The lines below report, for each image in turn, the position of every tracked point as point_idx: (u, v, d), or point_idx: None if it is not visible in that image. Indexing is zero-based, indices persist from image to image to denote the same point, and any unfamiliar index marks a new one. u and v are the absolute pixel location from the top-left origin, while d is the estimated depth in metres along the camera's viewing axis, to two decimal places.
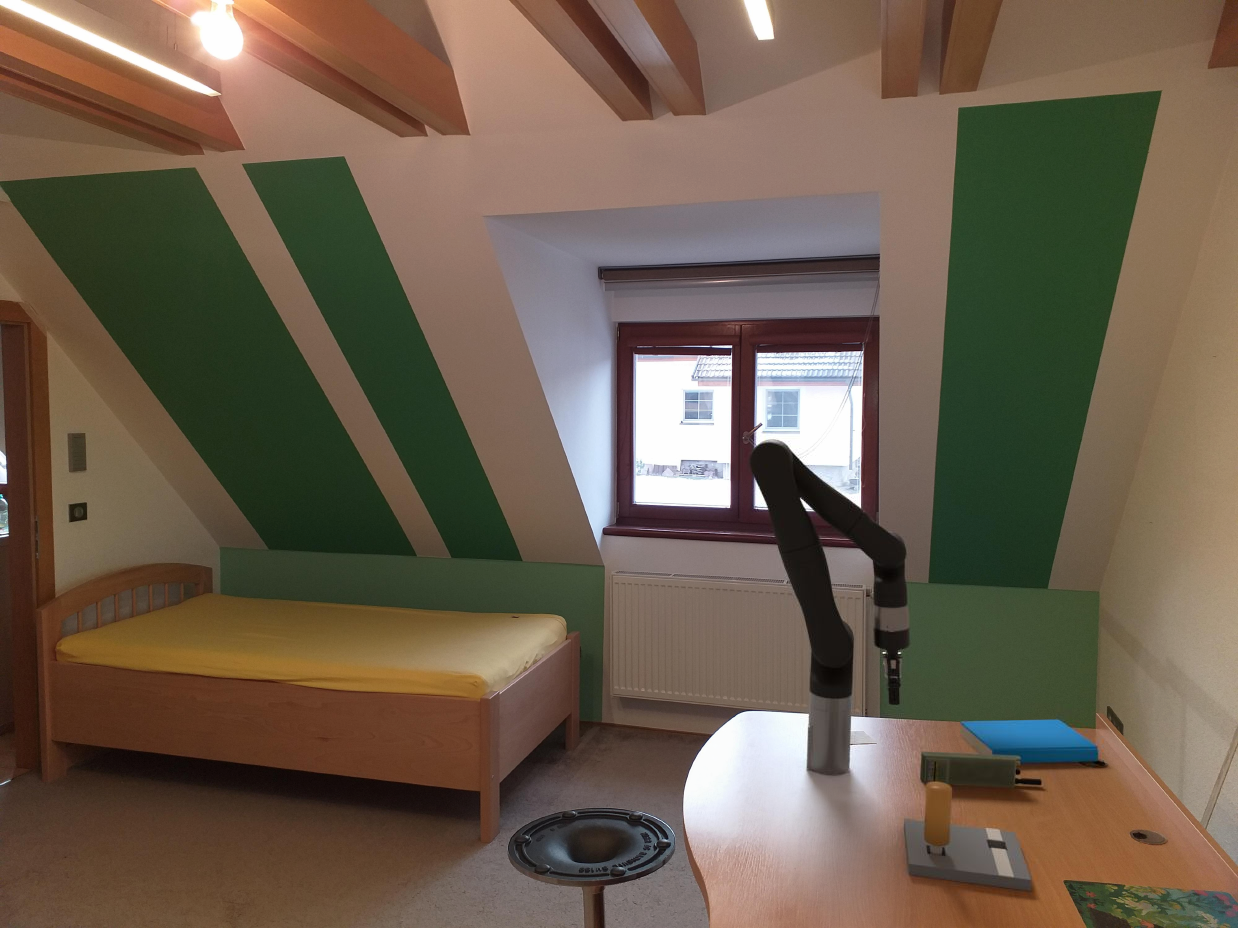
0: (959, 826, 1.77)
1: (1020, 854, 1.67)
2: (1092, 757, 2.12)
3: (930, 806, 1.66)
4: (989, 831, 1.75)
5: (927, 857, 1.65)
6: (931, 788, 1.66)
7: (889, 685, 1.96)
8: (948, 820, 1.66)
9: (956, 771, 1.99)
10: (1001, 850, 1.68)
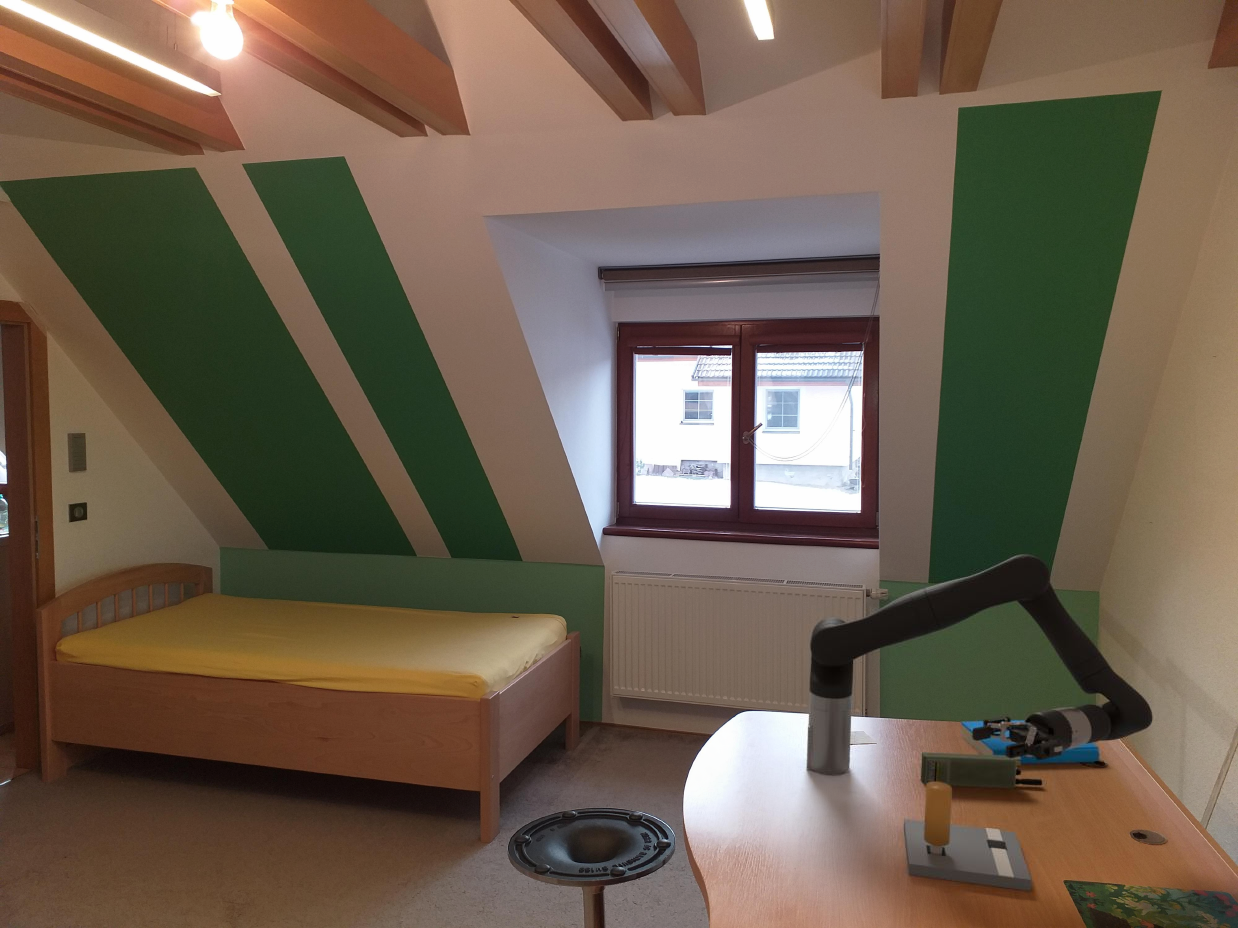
0: (959, 826, 1.77)
1: (1020, 854, 1.67)
2: (1093, 758, 2.11)
3: (930, 806, 1.66)
4: (989, 831, 1.75)
5: (927, 857, 1.65)
6: (931, 788, 1.66)
7: (1041, 748, 1.65)
8: (948, 820, 1.66)
9: (957, 772, 1.99)
10: (1001, 850, 1.68)
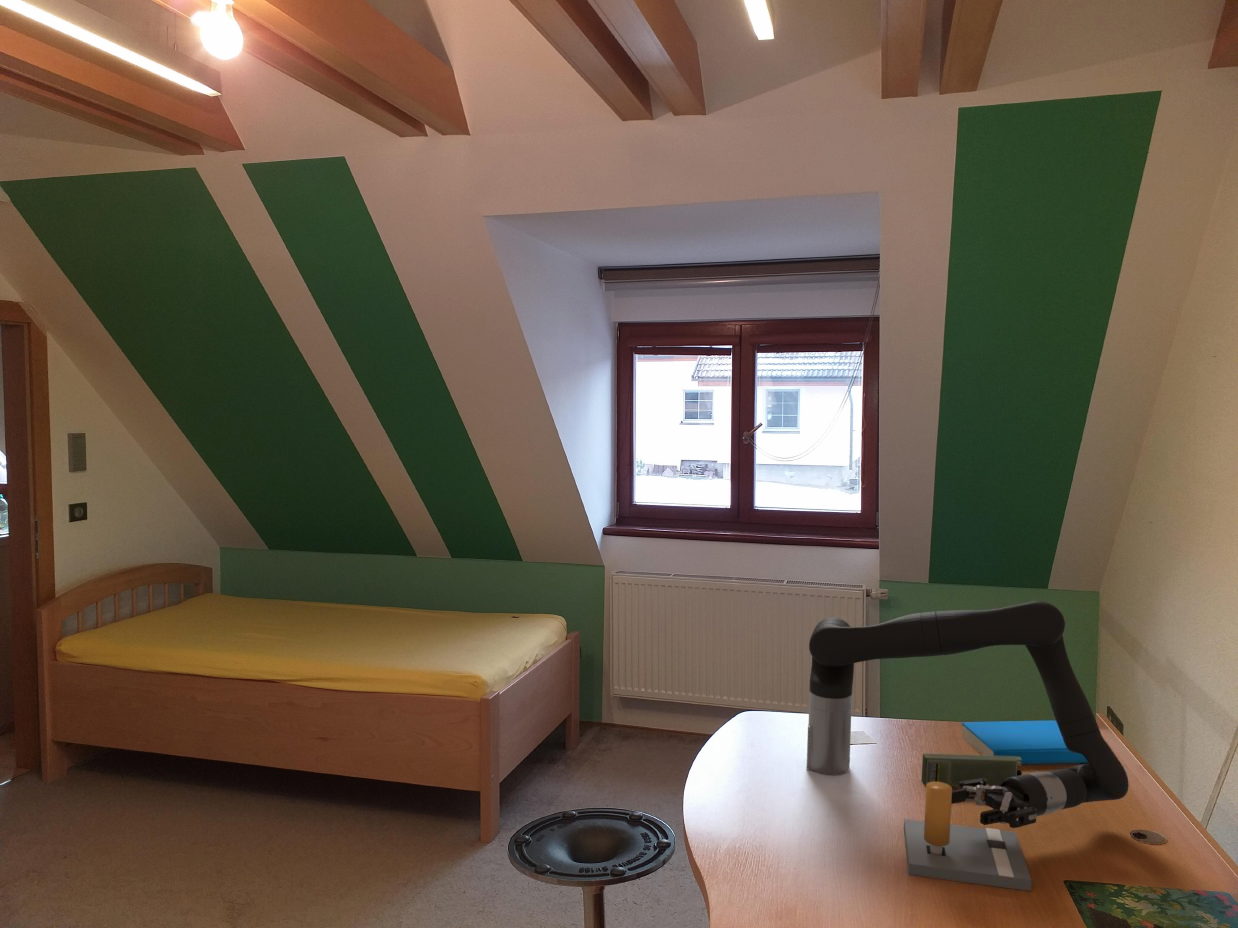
0: (959, 826, 1.77)
1: (1020, 854, 1.67)
2: None
3: (930, 806, 1.66)
4: (989, 831, 1.75)
5: (927, 857, 1.65)
6: (931, 788, 1.66)
7: (1015, 816, 1.65)
8: (948, 820, 1.66)
9: (957, 773, 1.98)
10: (1001, 850, 1.68)
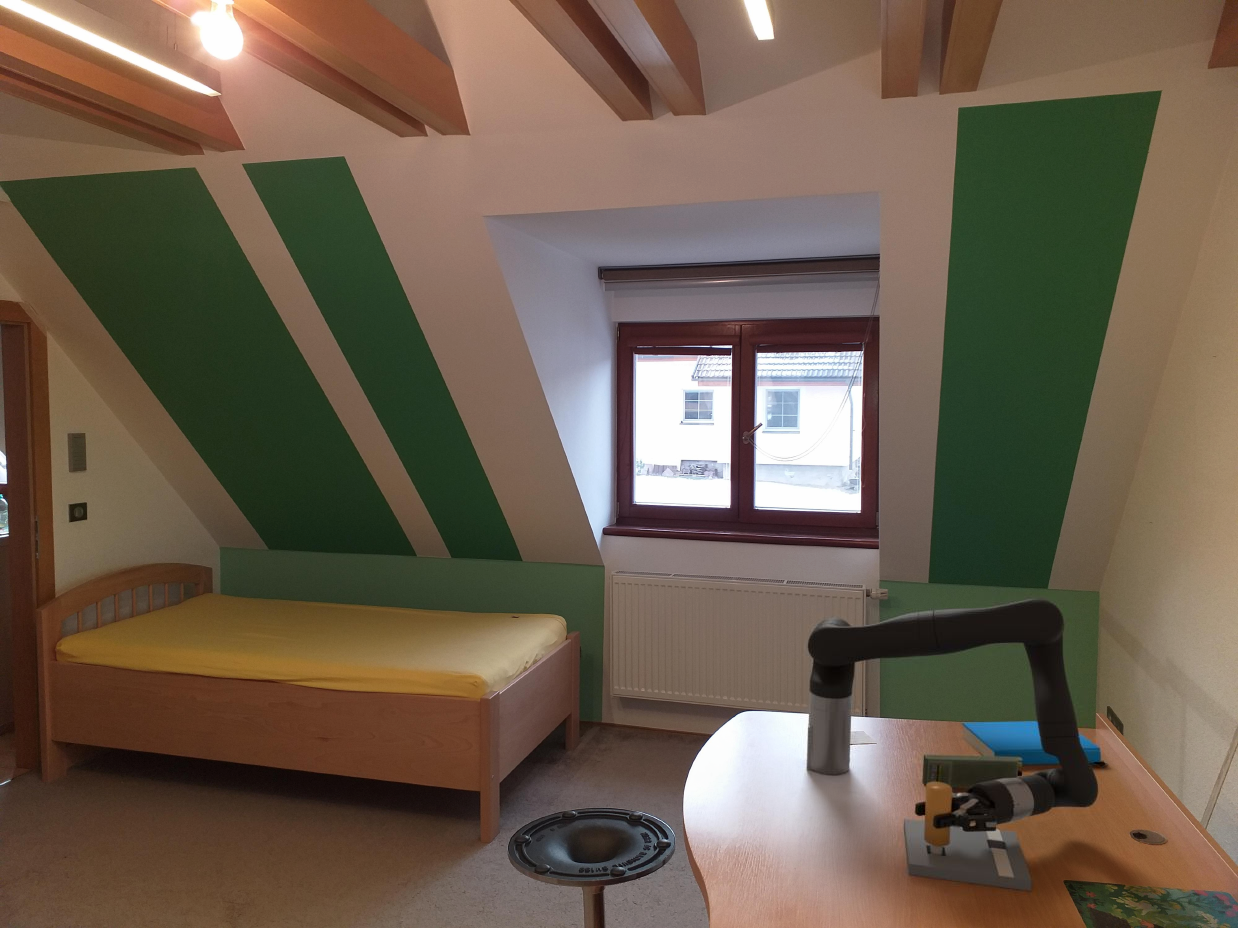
0: None
1: (1020, 854, 1.67)
2: (1095, 759, 2.11)
3: (930, 806, 1.66)
4: (989, 831, 1.75)
5: (927, 857, 1.65)
6: (931, 788, 1.66)
7: (968, 819, 1.63)
8: None
9: (958, 774, 1.98)
10: (1001, 850, 1.68)
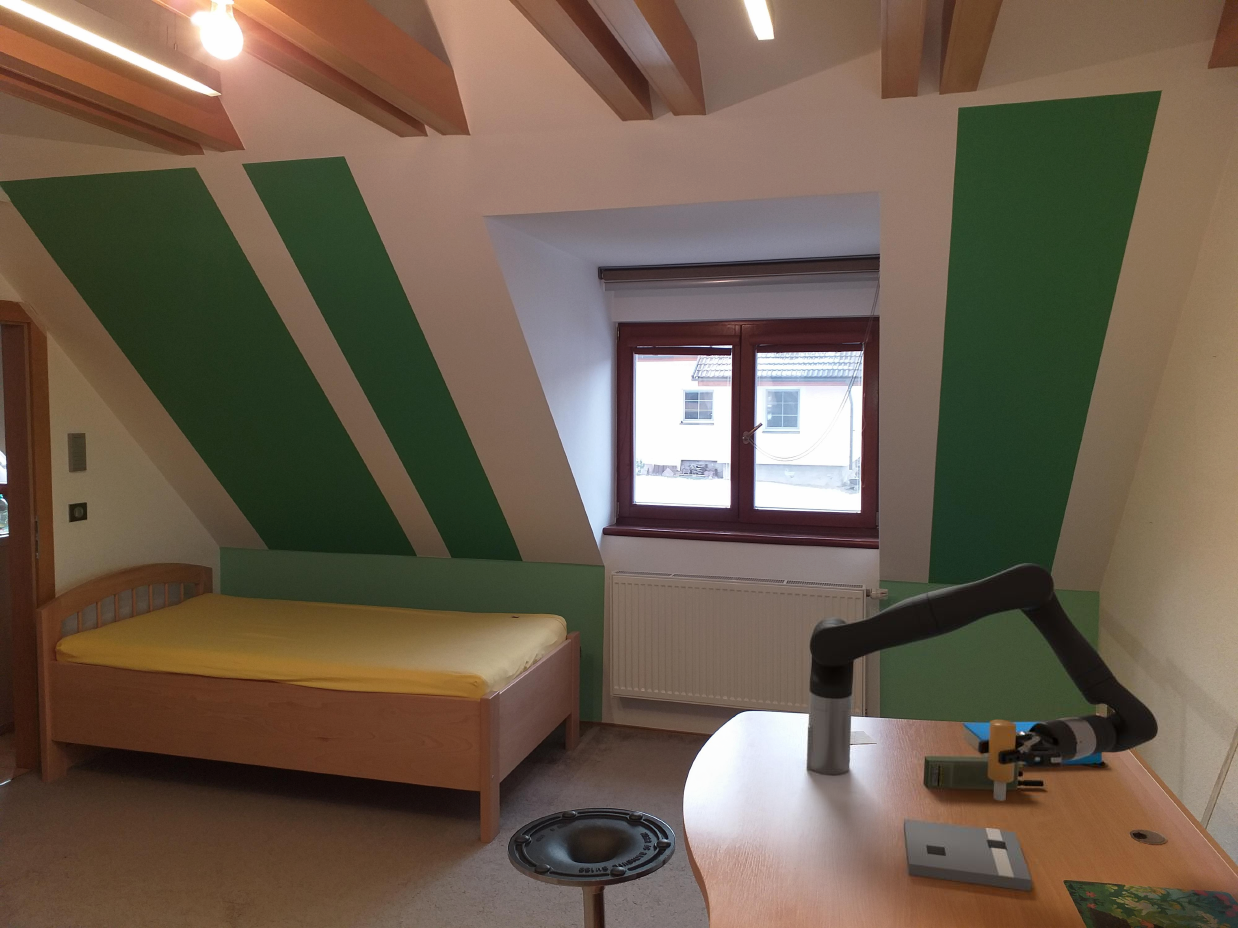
0: (959, 826, 1.77)
1: (1020, 854, 1.67)
2: (1096, 759, 2.10)
3: (995, 743, 1.67)
4: (989, 831, 1.75)
5: (927, 857, 1.65)
6: (995, 725, 1.67)
7: (1033, 755, 1.64)
8: None
9: (960, 775, 1.97)
10: (1001, 850, 1.68)
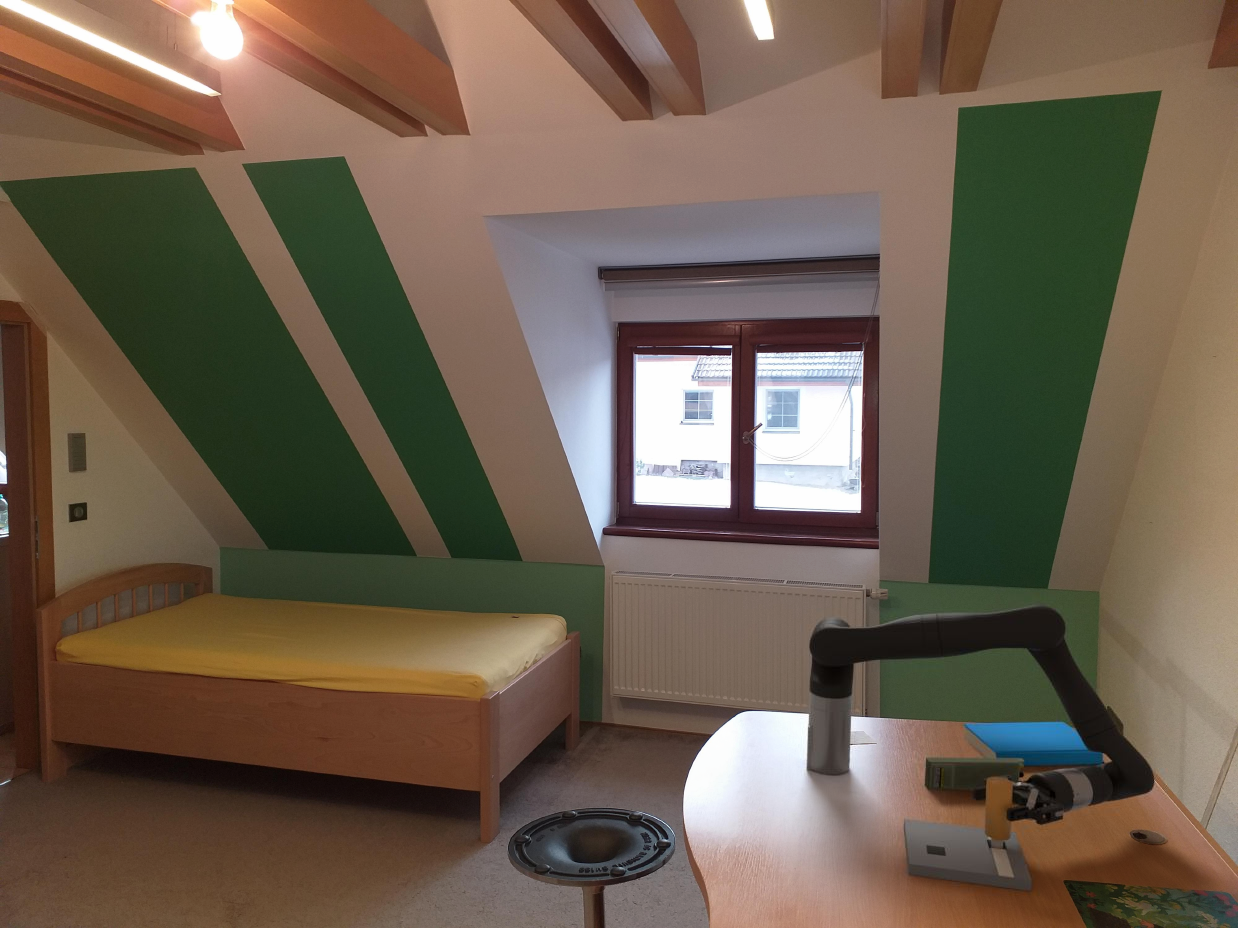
0: (959, 826, 1.77)
1: (1020, 854, 1.67)
2: (1097, 760, 2.10)
3: (991, 801, 1.68)
4: None
5: (927, 857, 1.65)
6: (992, 783, 1.68)
7: (1042, 812, 1.64)
8: None
9: (961, 777, 1.97)
10: (1001, 850, 1.68)
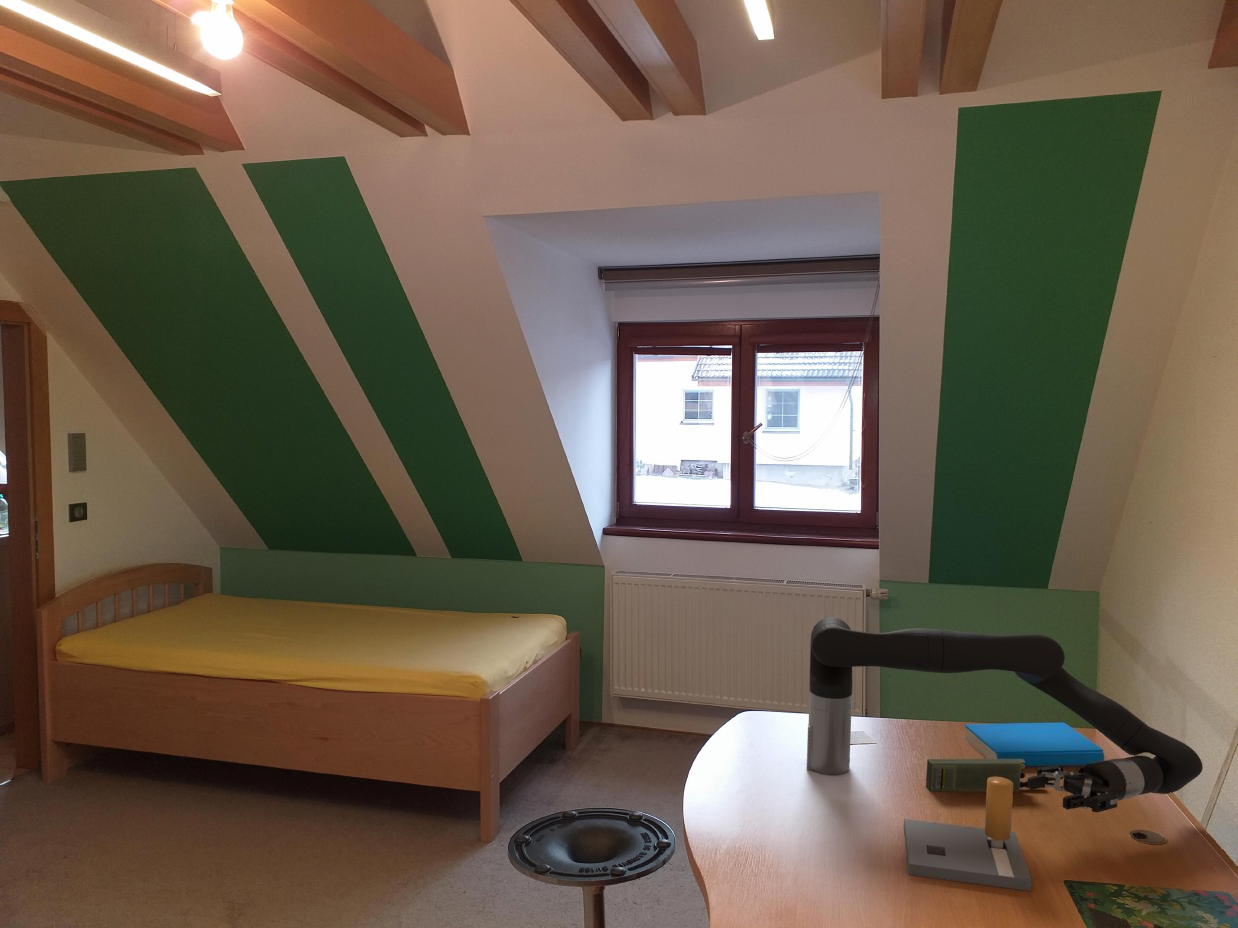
0: (959, 826, 1.77)
1: (1020, 854, 1.67)
2: None
3: (992, 800, 1.68)
4: None
5: (927, 857, 1.65)
6: (992, 783, 1.68)
7: (1098, 800, 1.68)
8: (1010, 814, 1.68)
9: (962, 778, 1.96)
10: (1001, 850, 1.68)
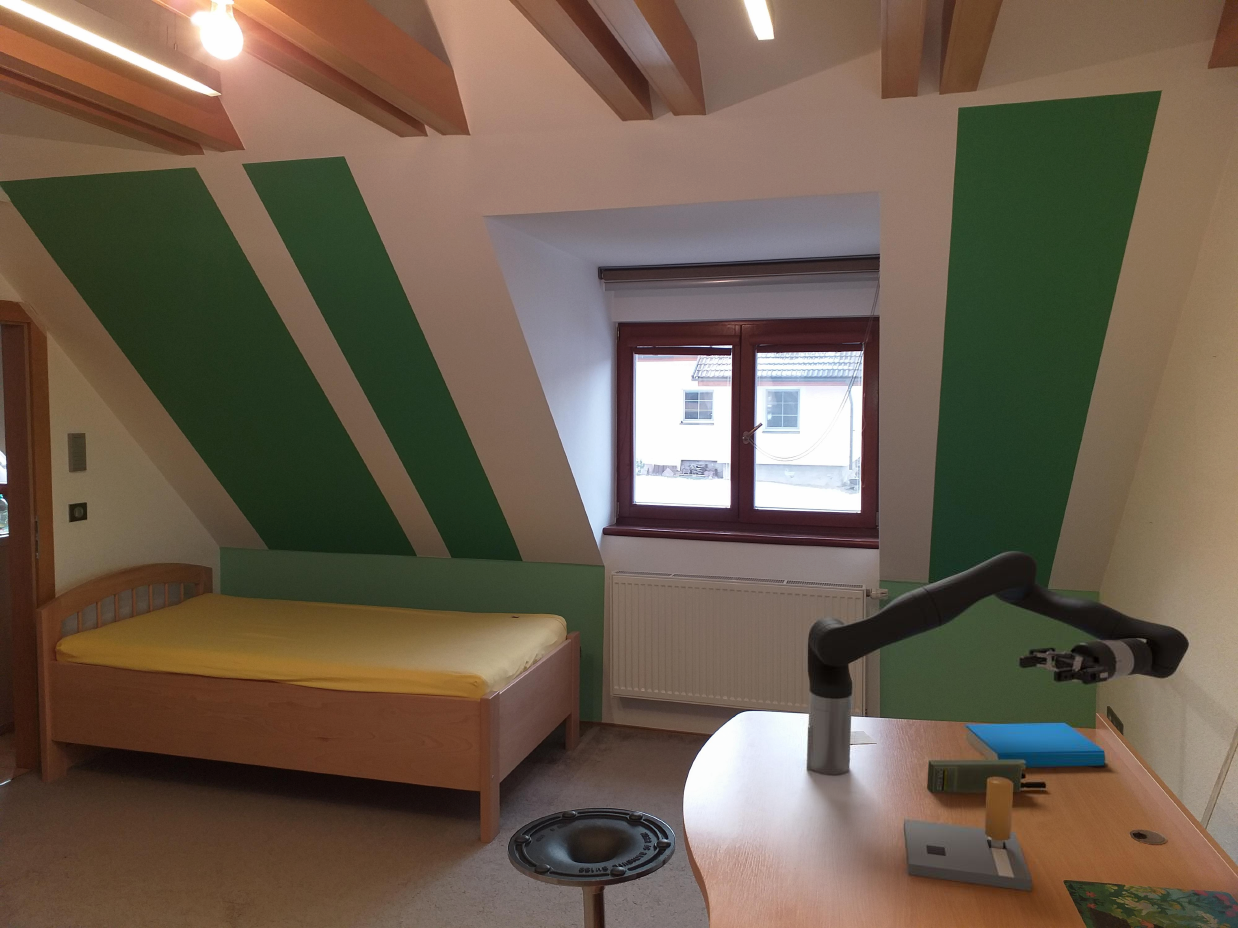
0: (959, 826, 1.77)
1: (1020, 854, 1.67)
2: (1099, 761, 2.09)
3: (992, 800, 1.68)
4: None
5: (927, 857, 1.65)
6: (992, 783, 1.68)
7: (1088, 672, 1.72)
8: (1010, 814, 1.68)
9: (964, 779, 1.95)
10: (1001, 850, 1.68)
